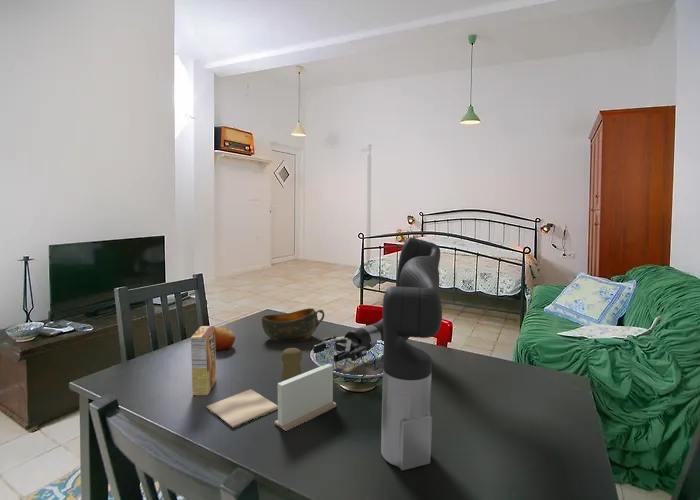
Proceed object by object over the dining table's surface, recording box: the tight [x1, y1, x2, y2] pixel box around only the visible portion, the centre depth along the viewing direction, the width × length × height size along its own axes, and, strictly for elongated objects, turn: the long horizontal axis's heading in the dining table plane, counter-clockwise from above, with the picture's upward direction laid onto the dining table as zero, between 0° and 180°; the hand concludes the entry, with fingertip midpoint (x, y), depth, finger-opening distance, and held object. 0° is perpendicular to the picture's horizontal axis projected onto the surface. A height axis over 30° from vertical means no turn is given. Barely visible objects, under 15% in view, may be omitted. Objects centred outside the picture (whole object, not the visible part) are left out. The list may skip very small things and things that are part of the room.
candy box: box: [190, 325, 217, 396], centre depth 104 cm, size 9×4×15 cm, turn 6°
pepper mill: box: [280, 347, 303, 382], centre depth 103 cm, size 6×6×11 cm
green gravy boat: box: [261, 307, 325, 343], centre depth 142 cm, size 13×20×10 cm, turn 74°
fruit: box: [215, 327, 236, 351], centre depth 132 cm, size 8×8×8 cm
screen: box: [274, 363, 337, 432], centre depth 92 cm, size 15×4×10 cm, turn 136°
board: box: [206, 388, 278, 428], centre depth 95 cm, size 12×12×1 cm
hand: (323, 354), depth 111 cm, fingers open, 8 cm apart
